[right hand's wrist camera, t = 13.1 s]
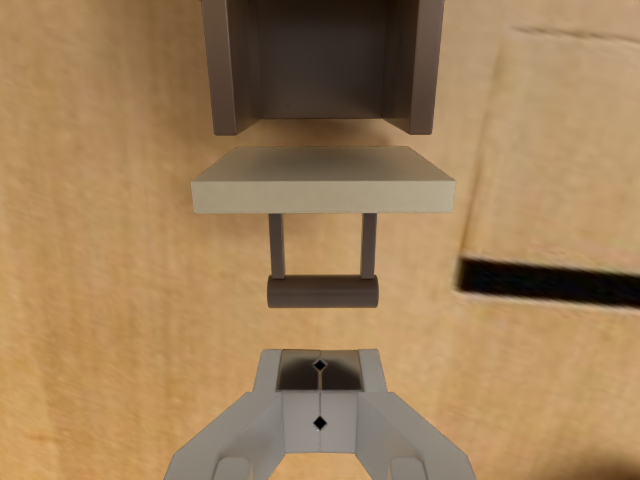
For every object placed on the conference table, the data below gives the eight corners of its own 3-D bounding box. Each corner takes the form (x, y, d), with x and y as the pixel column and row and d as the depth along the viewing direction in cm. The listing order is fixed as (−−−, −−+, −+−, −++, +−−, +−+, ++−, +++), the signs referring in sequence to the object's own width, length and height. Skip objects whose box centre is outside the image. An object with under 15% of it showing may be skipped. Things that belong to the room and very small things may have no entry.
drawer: (399, 264, 24) (436, 347, 17) (245, 264, 24) (210, 348, 17) (442, -309, 16) (561, -690, 8) (200, -308, 16) (83, -686, 8)
